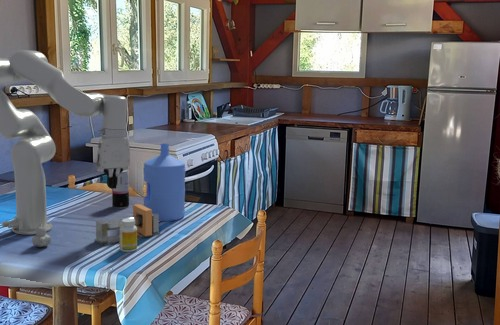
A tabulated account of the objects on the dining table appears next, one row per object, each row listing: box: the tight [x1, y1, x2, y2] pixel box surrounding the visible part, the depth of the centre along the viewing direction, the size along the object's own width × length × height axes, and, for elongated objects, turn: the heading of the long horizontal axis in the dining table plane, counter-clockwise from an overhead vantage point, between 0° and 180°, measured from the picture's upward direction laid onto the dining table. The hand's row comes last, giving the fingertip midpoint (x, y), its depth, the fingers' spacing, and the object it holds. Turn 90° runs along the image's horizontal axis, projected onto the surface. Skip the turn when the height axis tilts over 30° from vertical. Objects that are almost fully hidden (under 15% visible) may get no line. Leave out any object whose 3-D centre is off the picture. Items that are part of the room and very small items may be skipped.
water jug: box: [143, 143, 186, 222], centre depth 199 cm, size 16×16×28 cm
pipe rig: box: [94, 212, 161, 246], centre depth 176 cm, size 21×6×7 cm, turn 129°
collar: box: [132, 203, 152, 237], centre depth 179 cm, size 2×9×9 cm, turn 39°
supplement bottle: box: [119, 217, 138, 253], centre depth 164 cm, size 5×5×10 cm
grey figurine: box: [31, 222, 52, 248], centre depth 164 cm, size 5×7×8 cm
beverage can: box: [111, 169, 130, 210], centre depth 212 cm, size 7×6×15 cm
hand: (112, 187), depth 175 cm, fingers closed
